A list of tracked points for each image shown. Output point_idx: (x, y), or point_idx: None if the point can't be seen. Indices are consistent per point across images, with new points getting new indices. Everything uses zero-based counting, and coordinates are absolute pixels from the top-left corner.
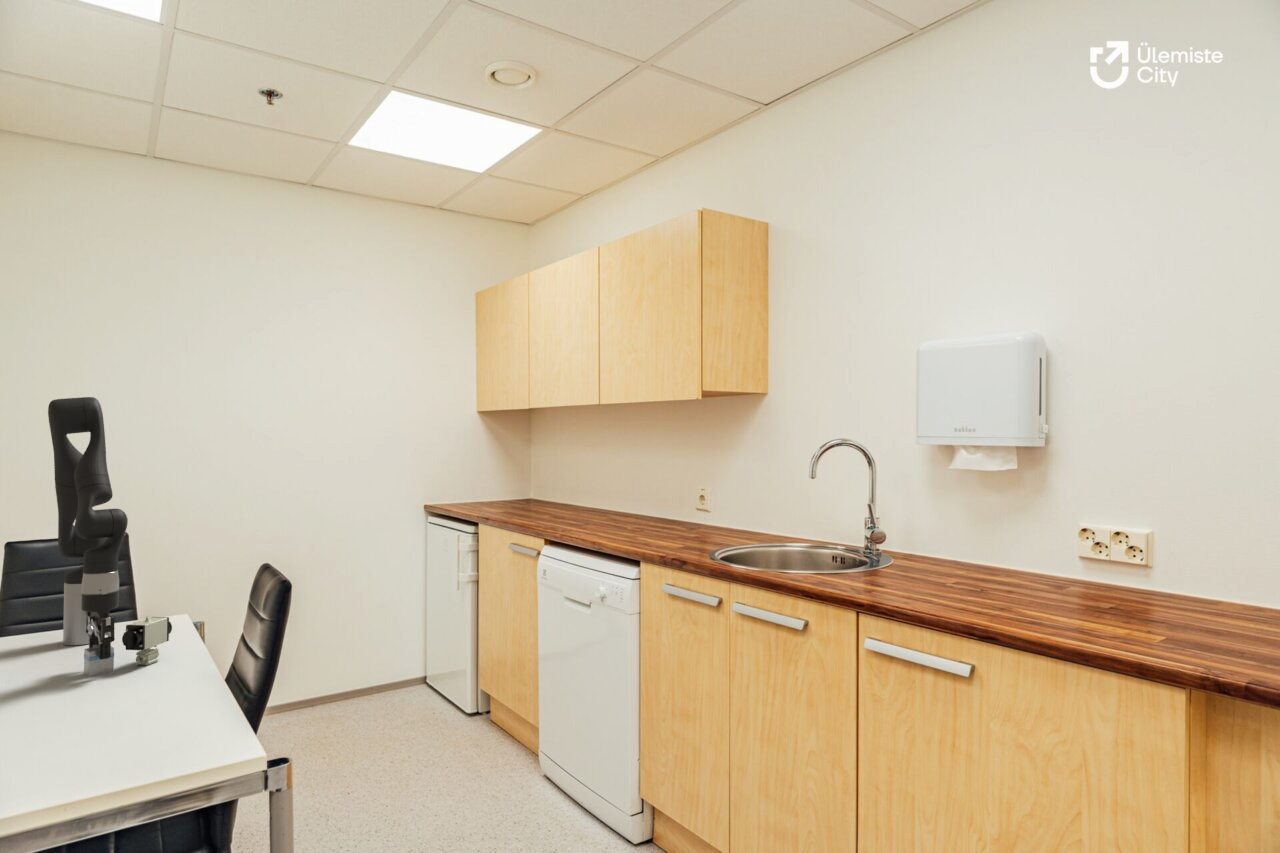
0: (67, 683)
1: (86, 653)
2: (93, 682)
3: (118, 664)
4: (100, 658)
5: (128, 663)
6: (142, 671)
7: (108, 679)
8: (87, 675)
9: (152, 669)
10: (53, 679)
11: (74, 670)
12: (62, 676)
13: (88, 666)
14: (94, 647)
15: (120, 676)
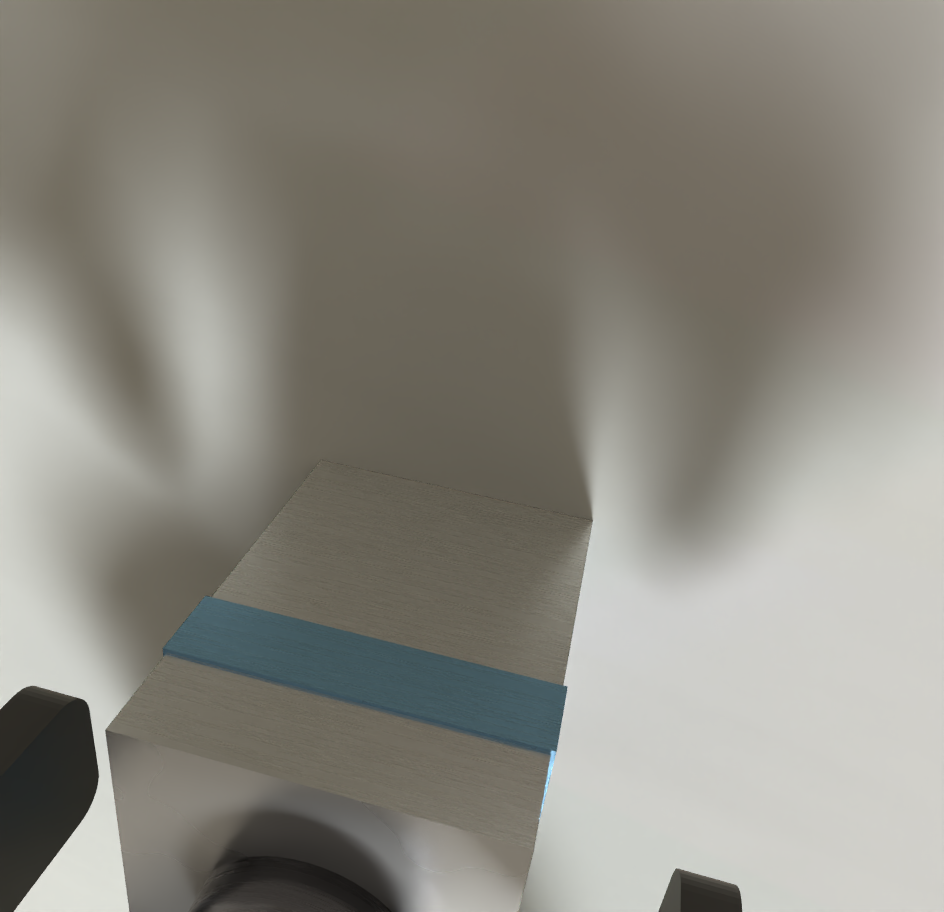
0: (200, 144)
1: (366, 738)
2: (5, 366)
3: (614, 859)
4: (26, 697)
5: (552, 904)
6: (107, 783)
7: (26, 510)
8: (404, 481)
9: (114, 842)
10: (663, 102)
11: (906, 531)
12: (716, 277)
13: (298, 550)
14: (230, 908)
15: (65, 620)
